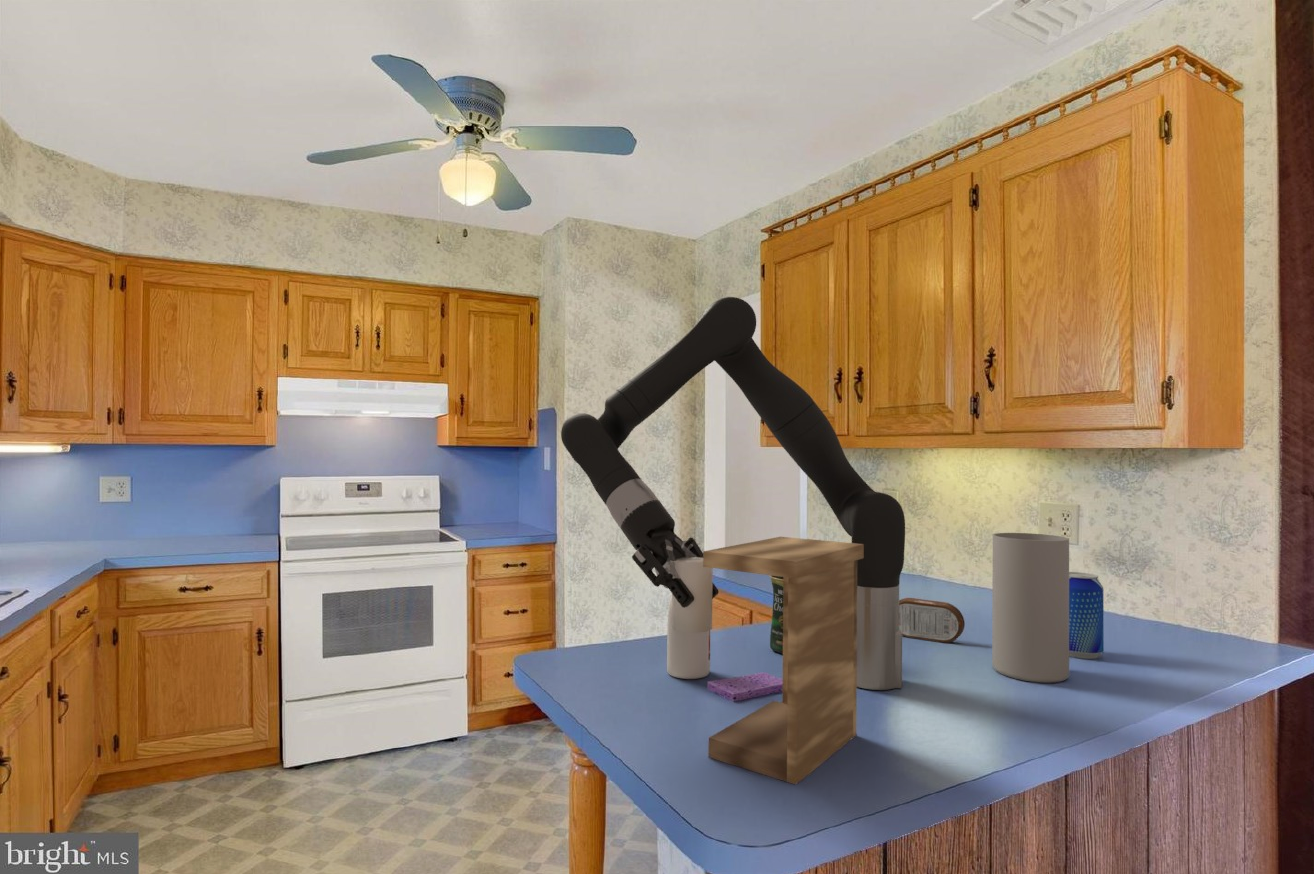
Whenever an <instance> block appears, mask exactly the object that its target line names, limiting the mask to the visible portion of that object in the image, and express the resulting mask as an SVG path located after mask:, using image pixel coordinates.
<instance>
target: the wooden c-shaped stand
mask: <svg viewBox="0 0 1314 874" xmlns="http://www.w3.org/2000/svg"><path fill="white" fill-rule="evenodd" d="M702 552H703V567H709V568H713V569H717V570H726V571H733V572H740V573H741V572H742V573H749V574H750V573H751V574H757V575H766V576H771V575H772V576H780V577H783V654H782V679H783V691H782V698H781V699H782V702H781V701H776V700H772V701H770V702H769V703H767V704H765V705H763V706H761V707H760V708H758V709H756V710H754V711H753V712H750V713H749V714H747V715H746V716H744V717H743V718H741V719H739V720H737V721H735V722H733V723H731V724H730V725H729V726H727V727H725V728H723V729H722V730H720V731H718V732H716V733H714V734H713V735H710V736H709V737H708V756H707V757H708V758H710V759H714V760H717V761H720V762H723V763H726V764H729V765H733V766H736V767H738V768H743V769H745V770H749V771H751V772H755V773H757V774H761V775H764V776H768V777H770V778H774V779H777V780H781V781H784V782H787V783H790V784H793V785H797V784H798V783H800V782H801V781H802V780H803V779H804V778H806V777H807V776H809V774H811V773H812V772H813V771H815V770H816V769H817V768H818V767H819V766H821V765H822V764H823V763H824V762H826V760H828V759H829V758H830V757H832V756H833V755H834V754H835V753H837V752H838V751H839V750H841V749H842V748H843V747H844V746H845V745H846V744H848V743H849V742H850V741H851V740H852V739H854V738H855V737H857V715H858V714H857V706H858V704H857V702H858V701H857V699H858V698H857V697H858V695H857V694H858V693H857V692H858V691H857V689H858V687H857V560H859V559H862V558H864V544H857V543H852V542H846V541H833V540H832V541H831V540H821V539H811V538H800V537H798V538H797V537H788V536H787V537H786V536H776V537H771V538H767V539H762V540H755V541H751V542H745V543H741V544H736V545H729V546H724V547H718V548H714V549H710V550H709V549H707V550H704V551H702ZM854 736H855V737H854ZM853 737H854V738H853ZM851 738H852V739H851ZM850 739H851V740H850ZM849 740H850V741H849ZM848 741H849V742H848ZM847 742H848V743H847ZM837 750H838V751H837ZM831 755H832V756H831Z"/></svg>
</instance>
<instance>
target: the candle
mask: <svg viewBox="0 0 1314 874" xmlns="http://www.w3.org/2000/svg"><path fill="white" fill-rule="evenodd" d="M675 560H676V561H674V562H675V569H676V571H677V573H678V576H679V577H678V579H681V580H682V581H683V583H684V584H685V585H686V587H687V588H688V589H689V591H690V592H691V593H692V595H693V596H694V601H693V602H692V603H691V604H690V605H689V606H688V607H682V606H681V605H680V603H679V602H678V601H677V600H676V598H675V597H674V595H673V594H672V593H671V597H672V629H674V630H676V631H680V632H687V633H700V632H707V631H710V632H711V630H712V629H713V599H712V592H713V583H714V582H713V581H714V578H713V577H714V576H713V573H714V572H713V571H714V568H709V567H703V558H699V557H684V558H679V559H675Z"/></svg>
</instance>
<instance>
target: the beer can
mask: <svg viewBox="0 0 1314 874" xmlns="http://www.w3.org/2000/svg"><path fill="white" fill-rule="evenodd" d="M1104 599H1105V598H1104V586H1103V585H1102V583H1101V581H1100V580H1099V576H1098V575H1096V574H1093V573H1089V572H1088V573H1086V572H1081V571H1080V572H1078V571H1069V658H1070V657H1071V658H1074V659H1075V658H1077V659H1082V660H1095V659H1098V658H1100V655H1101V654H1102V653H1104V644H1105V642H1104V638H1105V637H1104V634H1105V633H1104V631H1105V630H1104V628H1105V627H1104V625H1105V624H1104V623H1105V622H1104V621H1105V619H1104V615H1105V613H1104V611H1105V609H1104V605H1105V604H1104Z"/></svg>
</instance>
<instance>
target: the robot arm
mask: <svg viewBox="0 0 1314 874" xmlns="http://www.w3.org/2000/svg"><path fill="white" fill-rule="evenodd" d="M756 328H757V315H756V313H755V311H754V309H753V306H751V304H749V303H748V302H747V301H746V300H744V299H742V298H739V297H736V296H735V297H734V296H726V297H722V298H720V299H717V300H716V301H713V302H712V303H711V304H710V305H709V306H708V307H707V308H706V309H705V311H704V312H703V314H702V315H701V316H700V318H699V319H698V321H697V322H696V323H695V325H694V326H692V328H691V329H689V331H688V332H686V334H685V335H684V336H683V337H681V338H680V339H679V340H678V341H677V342H676V343H675V344H673V346H672V347H670V348H669V349H667V350H666V351H665V352H663V353H662V354H661V355H659V356H658V357H657V358H656V359H655V360H653V361H652V362H650V363H649V364H648V365H646V366H645V367H643V368H642V369H641V370H639V371H638V372H636V373H634V375H633V376H632V377H630V378H629V379H628V380H627V381H625V382H624V383H623V384H621V385H620V386H619V387H618V388H616V390H614V391H613V392H612V393H610V395H608V396H607V398H605V402H604V411H603V413H602V414H601V415H599V417H598V418H597V417H595V416H593V415H591V414H588V413H583V412H578V413H575V414H573V415H571V416H569V417H568V418H566V420H565V421H564V422H563V425H562V426H561V431H560V438H561V443H562V444H563V446H564V448H565V449H566V451H567V452H568V453H569V455H570V456H571V458H572V459H573V460H574V462H575V463H577V464H578V465H579V467H580V468H581V469H582V471H583V472H584V473H585V474H586V476H587V477H588V478H589V481H590V483H591V484H592V487H593V489H594V490H595V491H596V493H597V495H598V496H599V498H600V499H601V500H602V502H603V503H604V504H605V506H606V508H607V509H608V512H609V513H610V515H611V517H612V518H613V520H614V522H615V523H616V524H617V526H618V527H619V529H620V530H621V531H622V533H623V534H624V535H625V538H626V539H627V540H628V542H629V543H630V544H631V546H632V547H633V549H634V550H635V552H634V553H633V554H632V556H631V558H632V561H634V562H635V564H636V565H637V566H638V567H639V569H640V570H641V571H642V572H643V573H644V575H645V576H646V577H647V579H648V580H649V581H650V582H651V583H652V584H653V585H654V586H655V587H658V588H659V587H660V586H663V587H664V588H665V589H669V591H670V593H671V595H672V594H673V595H674V597H675V598H676V600H677V601H678V602H679V603H680V605H681V606H682V607H688V606H689V605H690V604H691V603H692V602H693V601H694V596H693V595H692V593H691V592H690V591H689V589H688V588H687V587H686V585H685V584H684V583H683V581H682V580H681V579H678V577H679V576H678V573H677V571H676V569H675V562H674V561H676V560H675V559H679V558H684V557H699V558H703V551H702V549H701V548H700V546H699V544H698V543H697V541H696V539H694V538H693V537H689V538H688V539H687V540H682V538H680V537H679V536H678V535H677V534H676V533H675V526H676V522H675V520H674V518H673V516H672V515H671V513H669V512H668V510H667V509H666V507H665V506H664V505H663V504H662V502H661V501H660V500H659V498H658V496H656V494H655V493H654V491H653V490H652V489H651V488H650V487H649V486H648V485H647V484H646V482H644V481H643V480H642V478H641V477H640V475H638V473H637V472H636V470H635V469H634V468H633V466H632V465H631V464H630V463H629V462H628V460H627V459H626V458H625V457H624V456H623V455H622V454H621V452H620V451H619V448H620V447H621V446H622V444H623V443H625V441H626V440H627V438H628V437H629V436H630V434H631V433H632V431H633V430H634V429H635V428H636V427H637V426H639V425H640V424H641V423H643V422H645V420H646V419H648V418H649V417H650V416H652V414H654V413H655V412H656V411H657V410H659V408H660V407H662V406H664V405H665V403H667V402H668V401H669V400H670V399H671V398H672V397H673V396H674V395H675V394H676V393H677V392H678V391H680V389H681V388H682V387H684V386H685V385H686V384H687V383H688V382H689V381H690V380H691V379H693V378H694V377H695V376H696V375H698V373H700V372H701V371H702V370H703V369H705V368H706V367H707V366H709V365H710V364H712V363H713V362H715V363H717V364H718V365H719V366H720V368H721V369H722V370H723V371H724V372H725V373H726V374H727V376H729V377H730V379H732V380H733V382H734V383H735V384H736V385H737V387H738V388H739V389H740V391H741V392H742V393H743V395H744V397H745V398H746V399H747V401H748V402H749V403H750V405H751V406H752V408H753V409H754V411H755V412H756V413H757V414H758V416H759V417H760V418H761V420H762V421H763V423H764V424H765V425H766V427H767V428H768V430H769V431H770V432H771V434H772V436H774V438H775V439H776V440H777V441H778V443H779V444H780V445H781V447H782V448H783V449H784V450H785V452H786V453H787V454H788V455H789V456H790V457H791V459H792V460H793V461H794V462H795V464H796V465H797V466H798V467H799V468H800V469H801V471H803V473H804V474H805V475H806V476H807V478H809V480H810V481H812V482H813V484H814V485H815V486H816V487H817V489H818V490H819V491H820V493H821V495H822V496H823V498H824V499H825V501H826V502H827V504H828V505H829V507H830V509H831V510H832V512H833V513H834V515H835V517H836V519H837V520H838V522H839V524H840V525H841V526H842V527H841V528H842V529H843V530H844V531H845V532H846V533H847V534H848V535H849V536H850V537H851V543H857V544H864V558H862V559H859V560H857V688H859V689H860V688H862V689H866V690H874V691H876V690H877V691H886V690H891V689H902V688H903V635H902V632H901V631H900V629H899V600H900V579H901V578H900V577H901V574H902V572H903V569H904V563H905V547H906V546H905V544H906V519H905V518H906V517H905V513H904V510H903V507H902V505H901V504H900V502H899V501H898V500H897V498H894V497H893V496H892V495H890V494H887V493H884V492H879V491H875V490H874V489H872V487H871V486H870V485H869V484H868V483H867V482H866V481H865V480H864V479H863V478H862V476H860V474H859V473H858V472H857V471H856V470H855V468H854V467H853V466H852V464H851V463H850V462H849V460H848V458H847V456H846V455H845V452H844V450H843V448H842V447H843V446H841V443H840V441H839V438H838V436H837V433H836V431H835V429H834V427H833V425H832V424H831V422H830V421H829V419H828V417H827V416H826V415H825V414H824V412H823V411H822V410H821V408H820V407H819V405H818V404H817V403H816V401H815V400H814V399H813V398H812V397H811V395H809V393H808V392H807V391H806V390H805V389H804V388H802V387H801V386H800V385H799V384H798V383H796V382H795V381H794V380H793V379H792V378H790V377H789V376H787V375H786V374H785V373H783V372H782V371H781V370H779V369H778V368H777V367H776V366H775V365H773V363H771V362H770V361H769V359H768V358H767V357H766V356H765V355H764V353H763V351H762V350H761V349H760V347H759V346H758V344H757V343H756V342H755V340H754V338H753V337H754V334H755V332H756ZM653 570H654V571H655V573H656V574H655V573H654V571H653ZM718 594H719V589H718V588H717V586H716V585H715V584H714V582H713V592H712V600H714V599H715V598H716V596H718Z"/></svg>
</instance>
